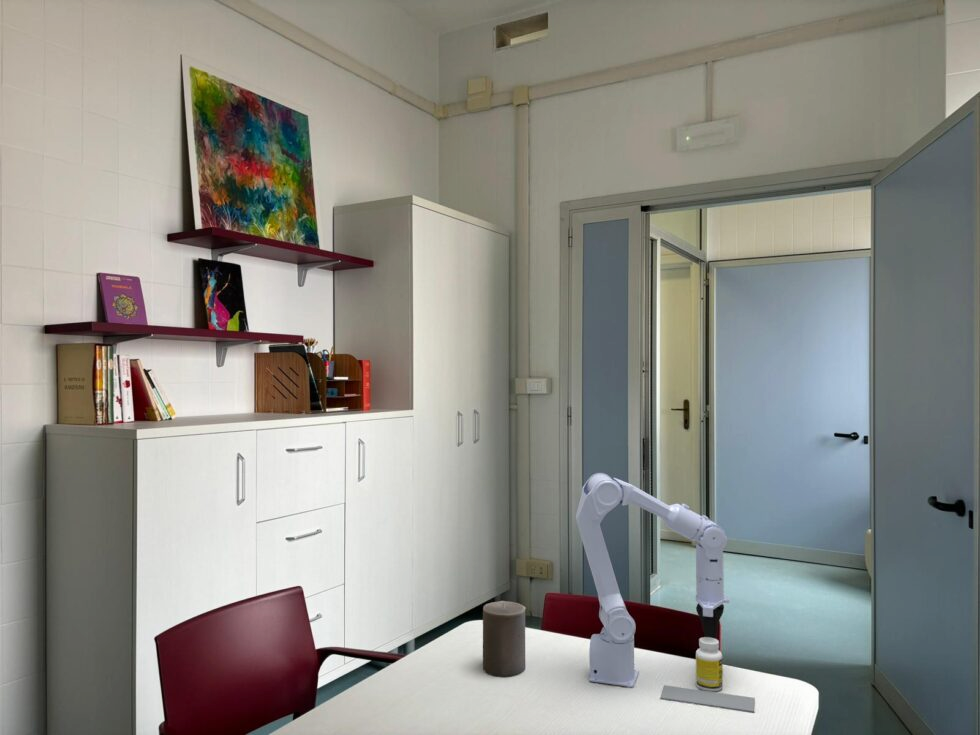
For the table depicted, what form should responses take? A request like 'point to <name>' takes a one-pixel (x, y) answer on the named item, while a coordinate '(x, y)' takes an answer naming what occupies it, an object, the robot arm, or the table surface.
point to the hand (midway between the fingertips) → (710, 639)
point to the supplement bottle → (709, 665)
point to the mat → (708, 698)
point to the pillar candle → (504, 639)
